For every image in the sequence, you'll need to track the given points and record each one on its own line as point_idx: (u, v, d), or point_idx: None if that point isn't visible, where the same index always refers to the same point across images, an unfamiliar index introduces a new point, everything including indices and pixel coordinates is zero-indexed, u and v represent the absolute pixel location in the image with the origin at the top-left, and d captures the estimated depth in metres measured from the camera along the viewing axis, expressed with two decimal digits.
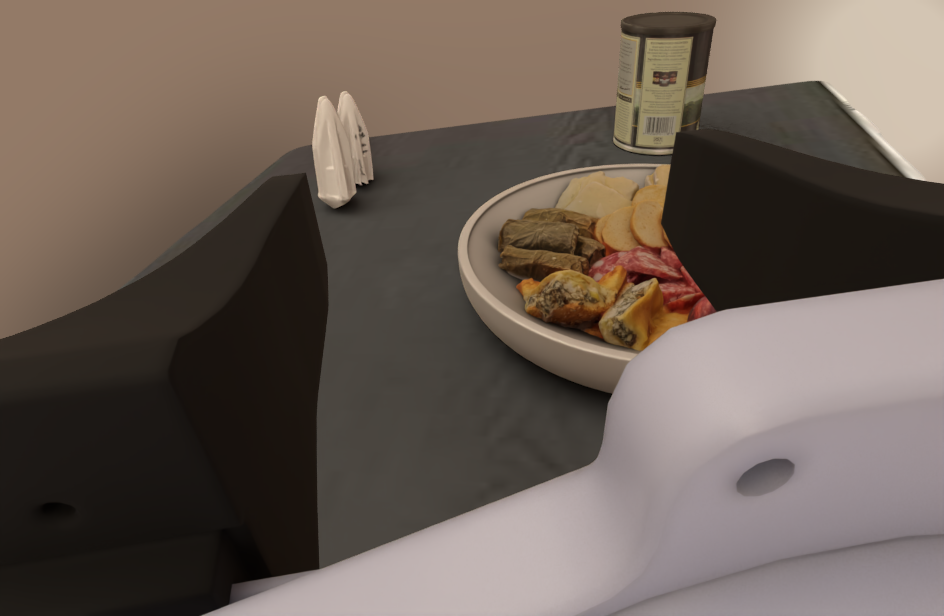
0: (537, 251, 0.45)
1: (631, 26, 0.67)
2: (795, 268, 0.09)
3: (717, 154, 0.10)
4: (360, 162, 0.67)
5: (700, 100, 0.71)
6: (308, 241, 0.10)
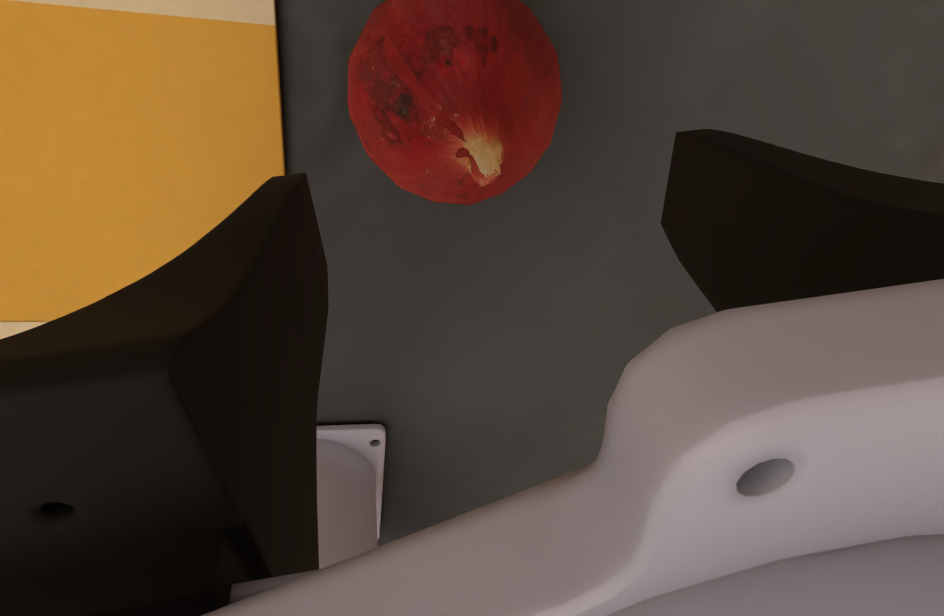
0: None
1: None
2: (795, 268, 0.09)
3: (718, 154, 0.10)
4: None
5: None
6: (308, 241, 0.10)
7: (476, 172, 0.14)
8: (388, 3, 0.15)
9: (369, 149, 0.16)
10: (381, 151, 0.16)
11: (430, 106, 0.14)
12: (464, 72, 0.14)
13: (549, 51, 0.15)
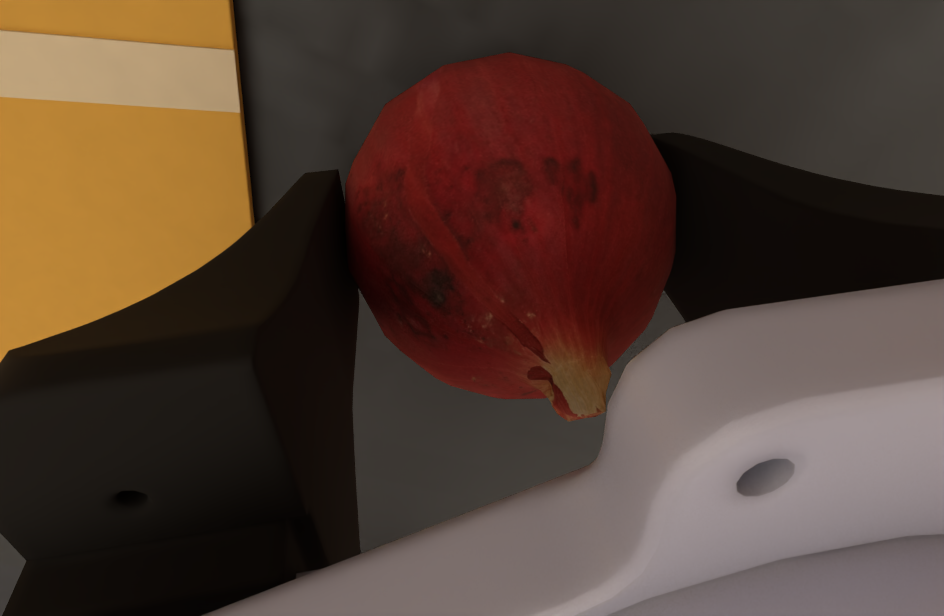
0: None
1: None
2: (752, 274, 0.09)
3: (680, 158, 0.10)
4: None
5: None
6: (342, 237, 0.10)
7: (564, 409, 0.08)
8: (410, 104, 0.09)
9: (378, 321, 0.10)
10: (397, 333, 0.10)
11: (484, 296, 0.08)
12: (544, 242, 0.08)
13: (667, 179, 0.10)
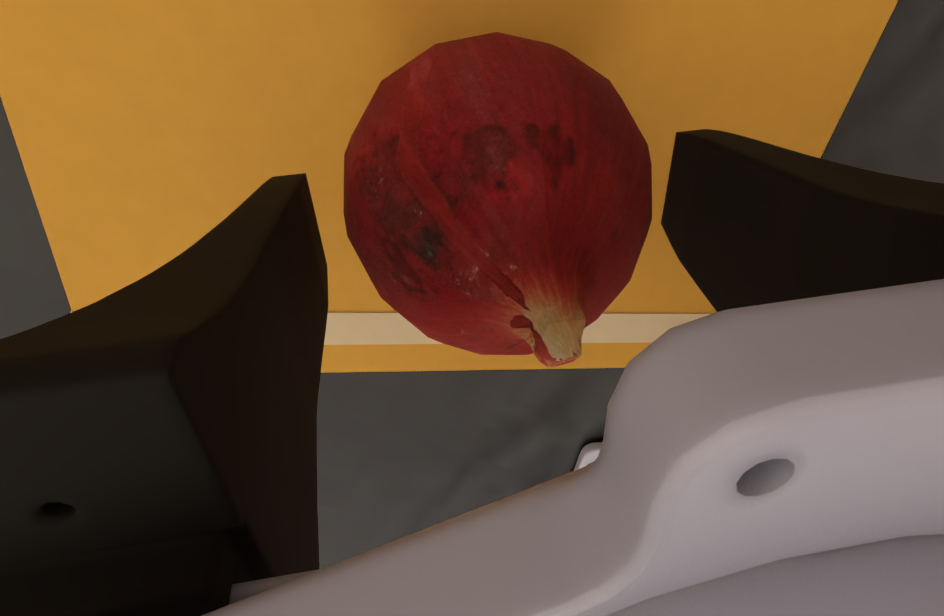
0: None
1: None
2: (795, 268, 0.09)
3: (717, 155, 0.10)
4: None
5: None
6: (308, 241, 0.10)
7: (543, 353, 0.09)
8: (403, 79, 0.10)
9: (374, 283, 0.11)
10: (392, 293, 0.11)
11: (472, 250, 0.09)
12: (525, 200, 0.09)
13: (642, 148, 0.10)
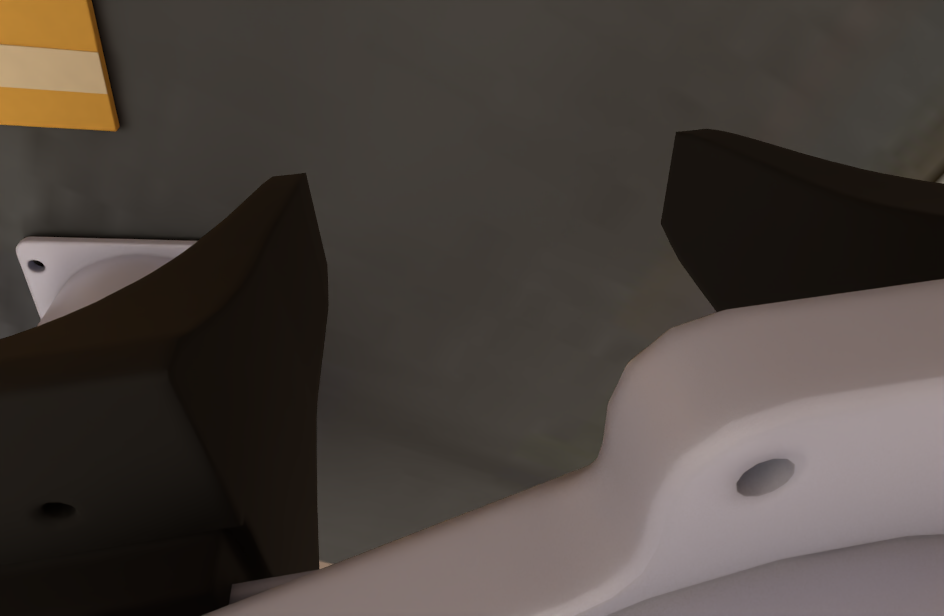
0: None
1: None
2: (795, 268, 0.09)
3: (718, 154, 0.10)
4: None
5: None
6: (308, 241, 0.10)
7: None
8: None
9: None
10: None
11: None
12: None
13: None
